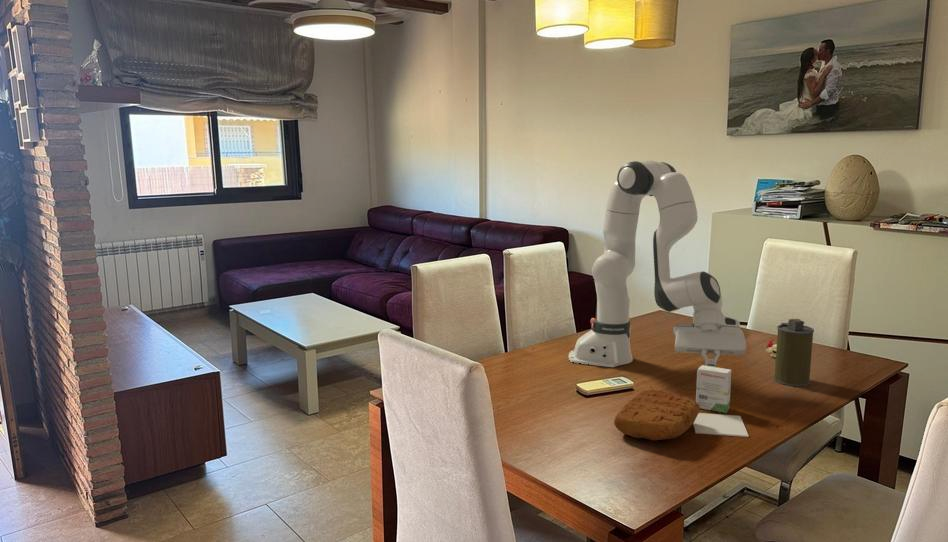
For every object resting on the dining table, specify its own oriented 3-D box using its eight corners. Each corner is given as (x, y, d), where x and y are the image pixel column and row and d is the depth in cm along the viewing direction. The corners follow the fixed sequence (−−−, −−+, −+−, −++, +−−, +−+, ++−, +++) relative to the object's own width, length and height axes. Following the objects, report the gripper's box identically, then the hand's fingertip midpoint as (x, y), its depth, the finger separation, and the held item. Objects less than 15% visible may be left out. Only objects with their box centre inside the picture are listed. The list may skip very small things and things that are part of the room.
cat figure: (770, 345, 248) (763, 358, 226) (772, 322, 247) (765, 333, 225) (799, 348, 243) (794, 362, 221) (801, 325, 242) (796, 337, 220)
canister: (817, 385, 201) (822, 323, 197) (787, 387, 199) (791, 325, 196) (794, 373, 211) (799, 314, 208) (765, 376, 210) (769, 316, 206)
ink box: (730, 408, 184) (732, 368, 182) (726, 414, 180) (728, 373, 178) (699, 402, 189) (701, 363, 187) (695, 408, 185) (697, 368, 183)
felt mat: (695, 433, 168) (695, 431, 168) (690, 413, 181) (690, 412, 181) (748, 437, 165) (748, 435, 165) (740, 417, 178) (740, 415, 178)
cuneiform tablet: (645, 410, 184) (646, 383, 182) (705, 425, 173) (706, 397, 171) (607, 436, 167) (608, 407, 166) (671, 455, 156) (672, 424, 155)
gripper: (674, 318, 198) (675, 358, 191) (745, 320, 194) (749, 362, 186) (672, 328, 203) (673, 368, 196) (741, 331, 199) (745, 372, 191)
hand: (711, 365), depth 191 cm, fingers closed
